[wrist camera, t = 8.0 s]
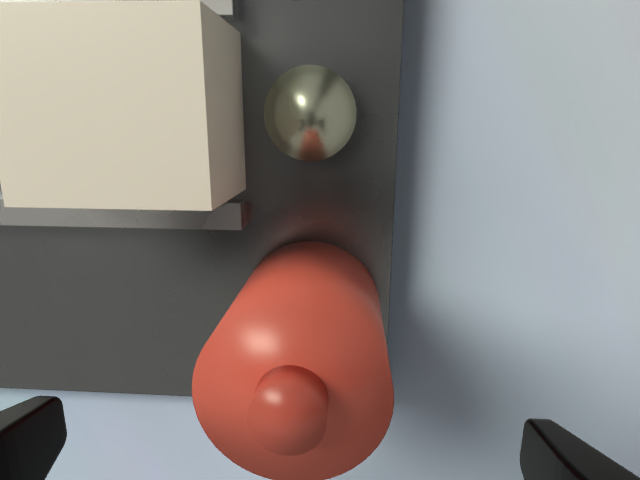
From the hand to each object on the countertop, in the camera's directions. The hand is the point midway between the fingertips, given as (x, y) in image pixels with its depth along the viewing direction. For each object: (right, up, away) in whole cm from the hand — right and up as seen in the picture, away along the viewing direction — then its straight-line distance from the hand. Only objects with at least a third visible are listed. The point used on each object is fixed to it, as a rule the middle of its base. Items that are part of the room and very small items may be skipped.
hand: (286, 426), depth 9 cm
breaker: (-4, +7, +5) cm, 10 cm away
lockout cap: (0, +1, +6) cm, 6 cm away
